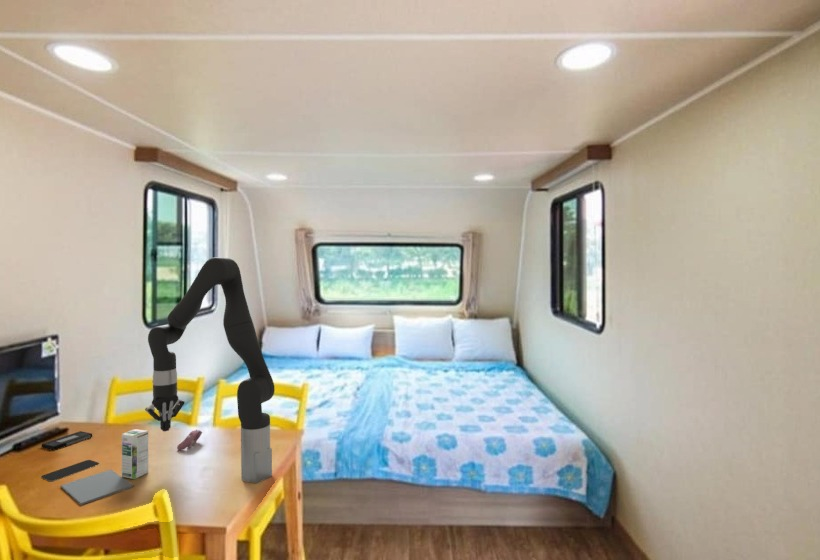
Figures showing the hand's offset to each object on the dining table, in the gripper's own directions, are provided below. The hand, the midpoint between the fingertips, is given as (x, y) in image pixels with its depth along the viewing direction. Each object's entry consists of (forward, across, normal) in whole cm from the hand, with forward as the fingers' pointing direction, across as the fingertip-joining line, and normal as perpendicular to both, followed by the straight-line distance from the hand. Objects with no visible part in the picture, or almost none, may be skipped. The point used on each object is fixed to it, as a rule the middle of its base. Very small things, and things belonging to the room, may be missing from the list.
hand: (165, 430), depth 159 cm
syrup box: (+12, -10, 0) cm, 16 cm away
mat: (+12, -21, 0) cm, 24 cm away
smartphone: (+13, -22, +21) cm, 33 cm away
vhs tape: (+13, -14, +52) cm, 55 cm away
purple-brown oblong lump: (+12, +14, +10) cm, 21 cm away
